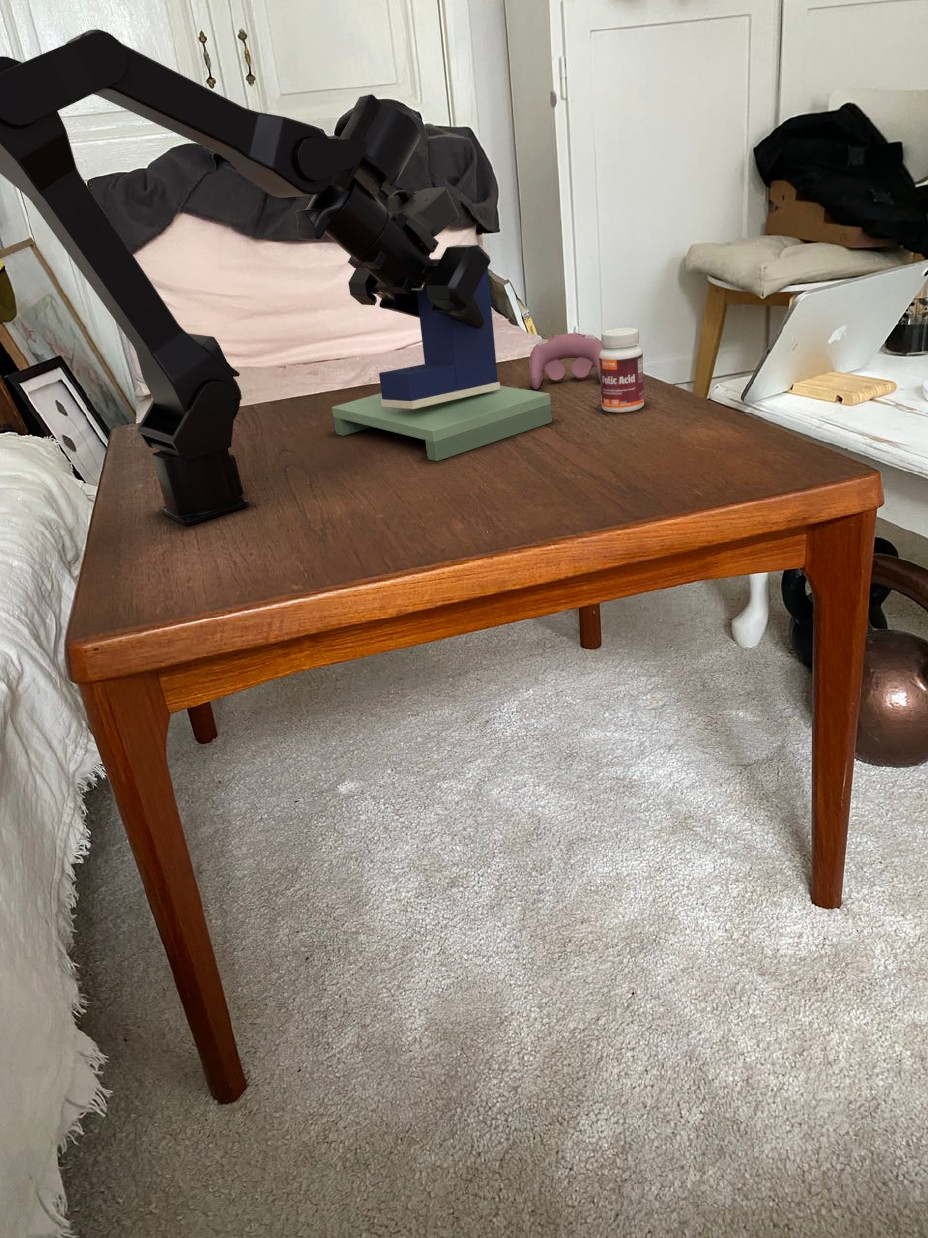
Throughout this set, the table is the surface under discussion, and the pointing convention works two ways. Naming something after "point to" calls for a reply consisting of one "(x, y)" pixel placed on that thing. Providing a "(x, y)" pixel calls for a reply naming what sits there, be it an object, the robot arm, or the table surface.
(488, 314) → the boot
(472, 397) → the shoe shelf
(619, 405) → the pill bottle
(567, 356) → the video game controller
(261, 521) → the table surface
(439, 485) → the table surface
